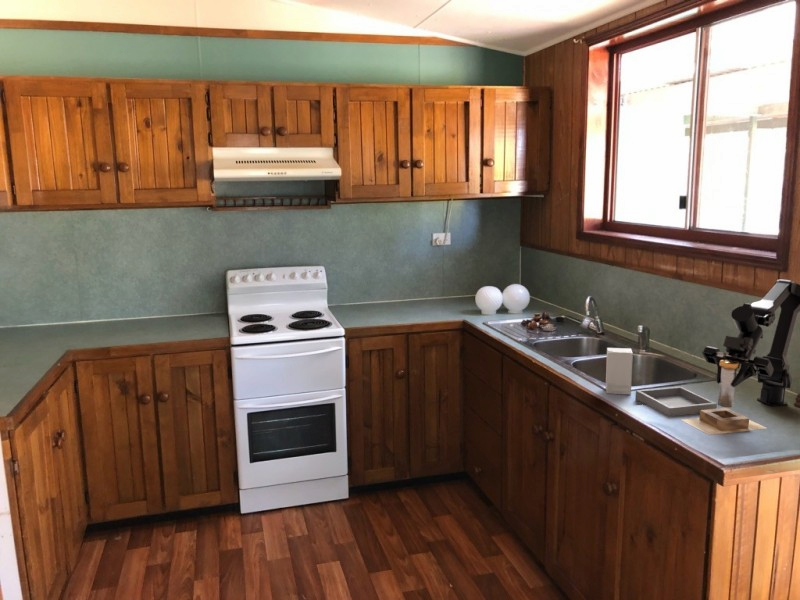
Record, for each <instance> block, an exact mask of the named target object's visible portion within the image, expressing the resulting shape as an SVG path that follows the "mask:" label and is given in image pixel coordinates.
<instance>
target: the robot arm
mask: <svg viewBox="0 0 800 600" xmlns="http://www.w3.org/2000/svg"><path fill="white" fill-rule="evenodd" d="M779 307H780V312H779V317H778V321H777V325H776V328H775V331H774V334H773V340H772V343H771V346H770V351H769V352H768V353H767V354H766V355H763V356H762V357H761V356H754V357H753V359H751V358H752V356H753V355H756V352H757V350H756V348H757V346H758V343H759V341H760V340H761V339H762V340H763V338H764V330H763V329H762V327H765V328H766V327H767V328H768V327H770V326H771V325H772V324H773V323H774V322H775V320H776V313H775V312H776V311H777V310H778V309H779ZM798 313H800V284H799V283H797V282H796V281H793V280H789V279H782V278H781V279H777V280H775V282H774V285H773V287H772V288H771V289H770V290H769V291H768V292H767V294H765V296H764V297H763V298H762V299H761V300H758V301H753V302H752V303H745V302H744V303H743V304H742V305H741V306H737V307H736V308H734V309H733V310H732V311H731V315H730V316H731V318H732V321H733V323H734V325H735V327H736V329H737V330H738V331H739V332H738V334H737V336H730V335H726V336H725V337H724V341H723V345H722V347H725V352H726V353H728V354H726V353H724V352H721V350H720V348H718V347H714V346H709V345H707V346H705V347H703V349H702V351H701V353H702V355H703V357H704V360H705V361H706V363H708V364H712V365H715V366H717V372H716V374H717V375H716V383H717V384H720V378H721V368H722V367H721V366H720V360H733V361H737V362H739V363H740V367H739V370H738V371H737V373H736V377H735V379H734V381H733V384H732V386H733V387H735V388H736V387H737V386H739V385H740V384H742V383H743V382H745V380H748V379H749V378H751V377H753V376H754V377H756V376H757V383H759V384H761V383H762V385H761V386H762V387H761V389H760V397H757V398H756V400H757V401H759V402H761V403H764V404H765V405H768V406H770V407H775V406H785V405H788V402H786V401H785V397H786V396H785V394H786V389H791V388H792V384H793V378H792V375H791V372H790V365H789V361H788V359H787V354H788V351H789V347H790V343H791V339H792V335H793V332H794V328H795V323H796V321H797V320H796V319H797V316H798Z"/></svg>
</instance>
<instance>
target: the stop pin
mask: <svg viewBox="0 0 800 600" xmlns="http://www.w3.org/2000/svg"><path fill="white" fill-rule="evenodd" d="M720 366H721V367H722V368H721V378H720V383H719V390H718V401H717V406H720V407H721V408H733V407H734V400H735V391H736V389H735V388H736V386H735V387H733V386H732V384H733V381H734V379H735V377H736V376H737V374H738V369H740V368H741V365H740V363H739V362H737V361H733V360H720Z"/></svg>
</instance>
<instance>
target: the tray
mask: <svg viewBox="0 0 800 600" xmlns="http://www.w3.org/2000/svg"><path fill="white" fill-rule="evenodd" d="M634 399H635V400H634V401H635V402H637V403H638V402H639V403H638V404H640V403H641V404H640V405H642V404H643V406H647V405H648V406H649V407H651V408H653V409H655V410H656V411H658V412H660V413H662V414H664V415H665V416H668V417H673V416H674V417H675V416H684V415H693V414H700V410H708V409H717V408H718V402H716V401H712V400H711V399H708V398H706V397H704V396H702V395H699V394H697V393H695V392H693V391H692V390H689V389H687V388H685V387H684V386H683V387H682V386H671V387H658V388H650V389H649V388H648V389H639V390H635V398H634Z"/></svg>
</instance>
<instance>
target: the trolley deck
mask: <svg viewBox="0 0 800 600" xmlns="http://www.w3.org/2000/svg"><path fill="white" fill-rule="evenodd" d="M681 421H682V422H684V423H685V424H687V425H689V426H691V427H693V428H695V429H697V430H698V431H700V432H702V433H704V434H706V435H708V436H713V435H723V434H727V433H728V434H730V433H738V432H739V433H741V432H749V431H758V430H765V429H768V428H767V427H765V426H764V425H761V424H759V423H757V422H755V421H753V420H751V419H750V418H749V417H747V416H745V415H743V414H741V413H738V412H736V411H734V410H732V409H730V408H729V407H721V408H719V407H717V408H716V409H708V410H700V413H699V417H696V418H695V417H694V418H683V419H681Z"/></svg>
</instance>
